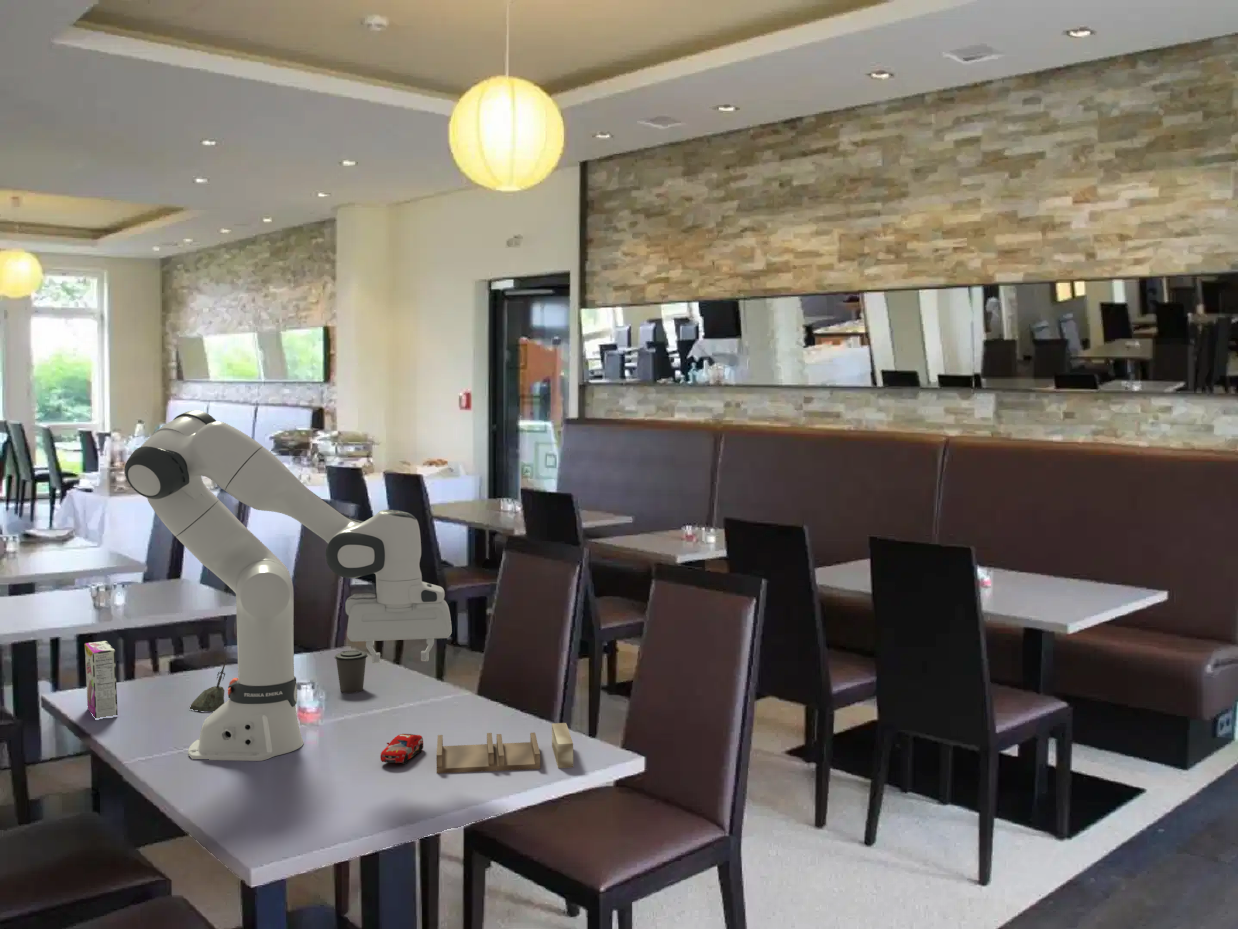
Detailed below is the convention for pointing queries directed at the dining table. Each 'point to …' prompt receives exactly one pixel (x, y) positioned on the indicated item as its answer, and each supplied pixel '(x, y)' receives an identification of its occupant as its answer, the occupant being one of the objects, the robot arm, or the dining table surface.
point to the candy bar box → (101, 679)
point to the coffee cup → (351, 670)
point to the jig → (488, 756)
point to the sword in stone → (210, 696)
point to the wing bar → (562, 745)
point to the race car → (402, 748)
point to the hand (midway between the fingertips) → (400, 661)
